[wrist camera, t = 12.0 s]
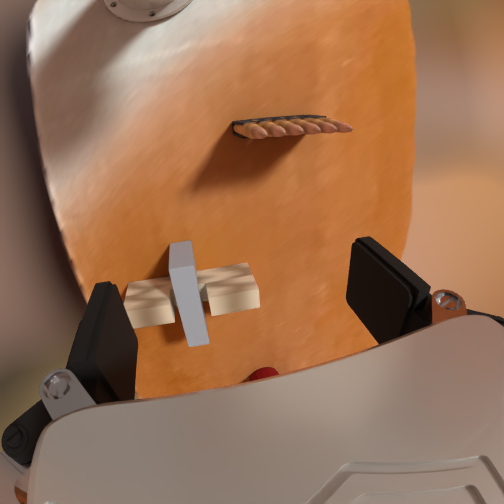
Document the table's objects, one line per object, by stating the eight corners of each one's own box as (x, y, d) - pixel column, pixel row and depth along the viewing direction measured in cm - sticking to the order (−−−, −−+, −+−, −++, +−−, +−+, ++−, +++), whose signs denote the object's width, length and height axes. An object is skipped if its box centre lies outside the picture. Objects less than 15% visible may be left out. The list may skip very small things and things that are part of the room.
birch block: (134, 299, 42) (129, 329, 36) (128, 282, 41) (122, 311, 35) (248, 279, 45) (259, 307, 39) (247, 262, 44) (258, 288, 38)
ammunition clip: (233, 135, 35) (255, 146, 25) (231, 121, 34) (253, 125, 24) (312, 127, 37) (360, 138, 26) (311, 114, 36) (359, 119, 25)
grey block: (169, 243, 40) (168, 269, 33) (191, 240, 40) (193, 265, 34) (186, 316, 46) (188, 347, 40) (204, 313, 46) (209, 343, 40)
